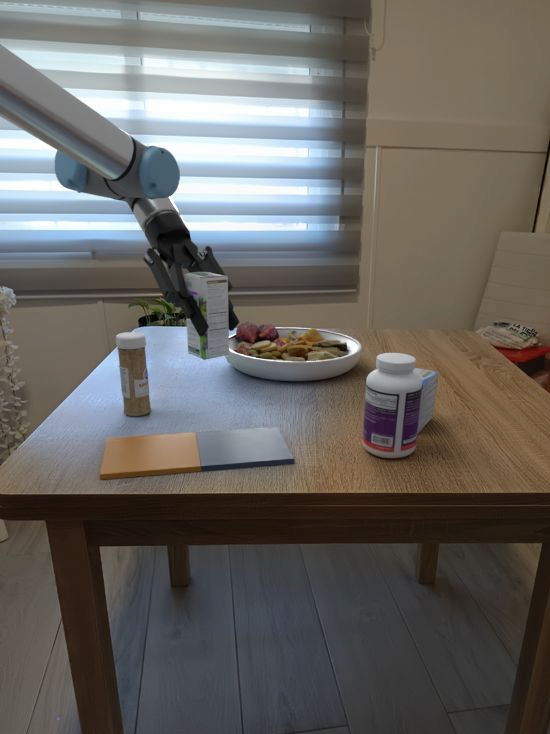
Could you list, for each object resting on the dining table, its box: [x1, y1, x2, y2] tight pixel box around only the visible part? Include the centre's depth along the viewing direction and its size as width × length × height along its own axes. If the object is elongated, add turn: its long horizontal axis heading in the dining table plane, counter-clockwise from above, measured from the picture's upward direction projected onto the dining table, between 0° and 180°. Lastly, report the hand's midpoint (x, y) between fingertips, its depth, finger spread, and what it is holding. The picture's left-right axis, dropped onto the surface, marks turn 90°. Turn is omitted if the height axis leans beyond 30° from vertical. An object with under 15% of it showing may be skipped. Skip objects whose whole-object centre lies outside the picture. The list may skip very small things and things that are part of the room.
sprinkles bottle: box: [115, 331, 152, 417], centre depth 95 cm, size 5×5×13 cm
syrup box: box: [183, 272, 230, 361], centre depth 103 cm, size 6×6×14 cm
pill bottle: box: [362, 352, 422, 459], centre depth 84 cm, size 8×8×14 cm
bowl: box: [224, 321, 362, 382], centre depth 125 cm, size 30×30×8 cm
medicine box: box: [413, 367, 439, 435], centre depth 95 cm, size 8×4×9 cm, turn 152°
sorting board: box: [99, 426, 295, 481], centre depth 83 cm, size 26×12×1 cm, turn 105°
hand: (219, 328), depth 101 cm, fingers closed on syrup box, 6 cm apart
